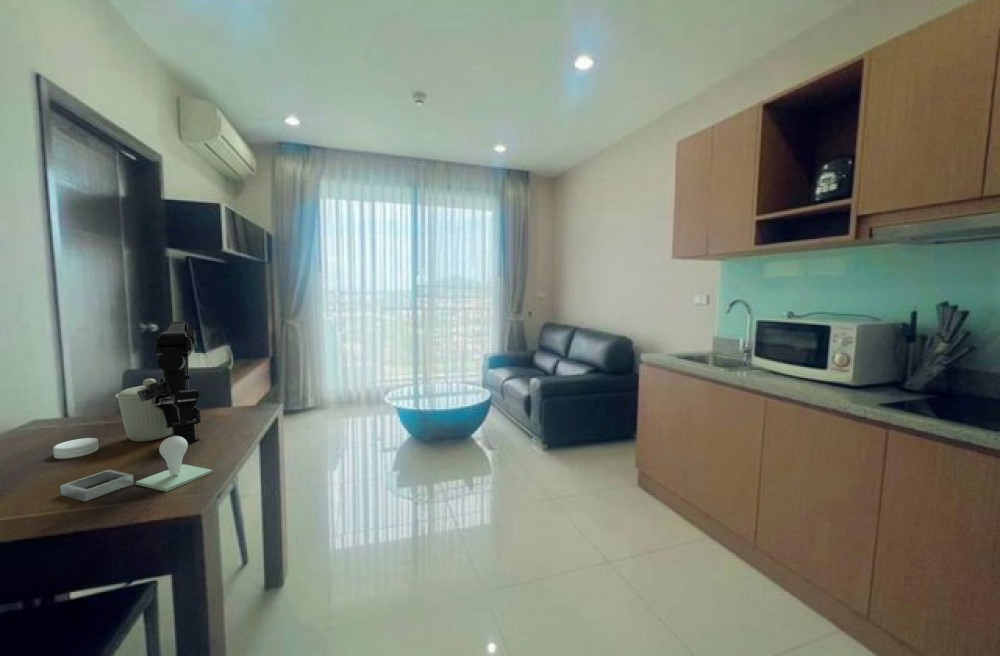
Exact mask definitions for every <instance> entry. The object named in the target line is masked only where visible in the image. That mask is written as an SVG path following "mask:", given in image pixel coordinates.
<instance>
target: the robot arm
mask: <svg viewBox="0 0 1000 656" xmlns="http://www.w3.org/2000/svg"><path fill="white" fill-rule="evenodd" d="M196 342H197V341H196V331H195V329H194V327H191V326H189V325H188V321H187V322H186V321H171V322H168V327H167V328H166V329H165V330H164V331H163V332H161V333H159V336H157V337H156V344H155V355H159V357H158V359H157V365H158V367H159V369H161V370H162V371H161V372H162V376H161V377H162V378H161V377H160V378H159V379H158V383H157V382H156V383H152V384H150V385H147V388H145V389H143V390H140V391H137V394H138V396H139V398H140V399H141V401H142V402H143V401H147V400H150V399H151V404H157V405H154V407H157V408H158V409H160V410H161V411H162V413H163V416H164V418H165V421H166V425H167V428H171V427H172V434H171V435H172V436H180V437H183V438H184V439H185V440H186V441H187V443H188V445H189V444H191V443H194V442H198V441H200V438H199V437H196V428H195V425H198V424H200V423H201V420H202V419H201V412H200V411H201V410H200V409H199V408H198V406H196V404H197V403H198V402H199V399H201V391H200V390H198V389H196V388H195V389H190V375H189V374H190V373H189V372H190V371H189V368H190V367H189V366H190V365H189V357H190V355H191V354H192V352H193V351H194V345H196Z"/></svg>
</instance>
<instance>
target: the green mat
mask: <svg viewBox="0 0 1000 656" xmlns="http://www.w3.org/2000/svg"><path fill="white" fill-rule="evenodd" d="M213 471H214V470H213V469H210V468H209V469H208V468H204V467H199V466H194V465H190V464H183V463H182V465H181V472H180V473H179V474H178V475H176V476H173V475H170V474H169V469H167V470H163V471H161V472H158V473H155V474H152V475H149V476H147V477H144V478H142V479H140V480H137V481H135V485H136V486H137V485H138V486H142V487H145V488H149V489H153V490H158V491H161V492H166V493H167V492H168V491H169V492H170V491H171V490H173V489H176V488H179V487H181V486H184V485H185V484H189V483H191V482H193V481H196V480H198V479H201V478H203V477H205V476H208V475H211V474H213Z"/></svg>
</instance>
